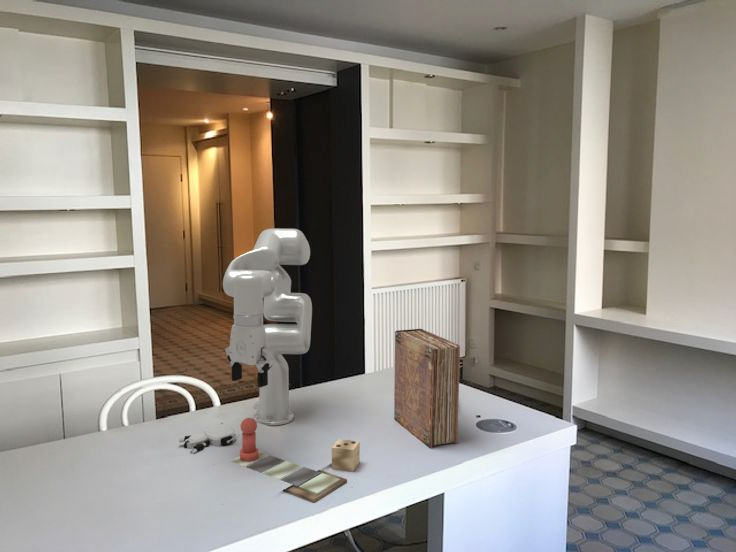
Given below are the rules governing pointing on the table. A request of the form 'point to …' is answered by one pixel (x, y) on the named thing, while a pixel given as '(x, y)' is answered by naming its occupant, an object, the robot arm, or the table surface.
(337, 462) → the die
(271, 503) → the table surface
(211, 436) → the robot toy
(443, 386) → the book
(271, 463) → the board
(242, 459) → the pawn
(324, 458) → the table surface
